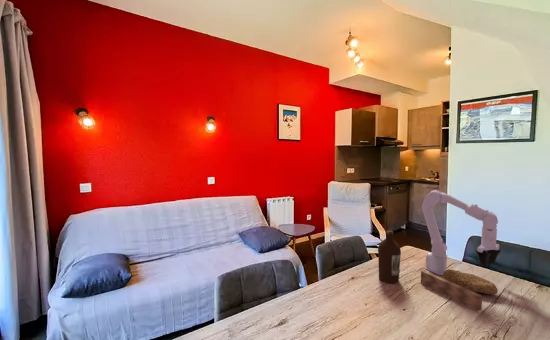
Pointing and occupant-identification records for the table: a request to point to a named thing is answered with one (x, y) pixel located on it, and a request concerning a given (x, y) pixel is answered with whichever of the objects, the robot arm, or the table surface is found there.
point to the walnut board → (452, 290)
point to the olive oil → (389, 259)
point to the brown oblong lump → (470, 282)
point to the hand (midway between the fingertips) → (487, 264)
